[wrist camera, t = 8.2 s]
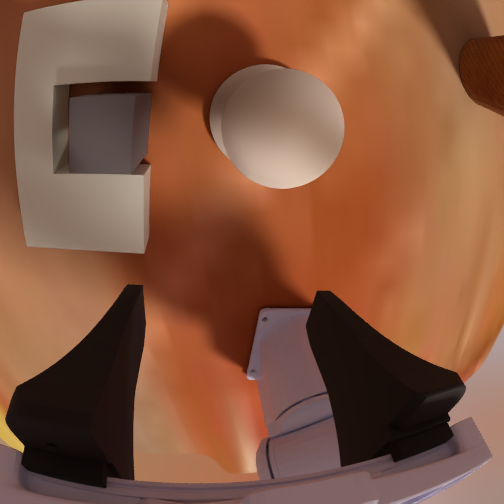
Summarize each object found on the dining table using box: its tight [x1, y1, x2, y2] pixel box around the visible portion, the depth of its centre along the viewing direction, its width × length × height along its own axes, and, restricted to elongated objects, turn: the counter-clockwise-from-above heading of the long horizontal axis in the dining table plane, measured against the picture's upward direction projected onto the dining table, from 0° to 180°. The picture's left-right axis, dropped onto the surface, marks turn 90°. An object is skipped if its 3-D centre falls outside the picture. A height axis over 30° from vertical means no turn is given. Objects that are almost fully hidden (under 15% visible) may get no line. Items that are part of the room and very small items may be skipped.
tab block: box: [69, 92, 152, 174], centre depth 16 cm, size 4×4×5 cm
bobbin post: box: [210, 64, 344, 189], centre depth 17 cm, size 7×7×6 cm
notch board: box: [14, 0, 169, 254], centre depth 16 cm, size 16×9×2 cm, turn 172°
